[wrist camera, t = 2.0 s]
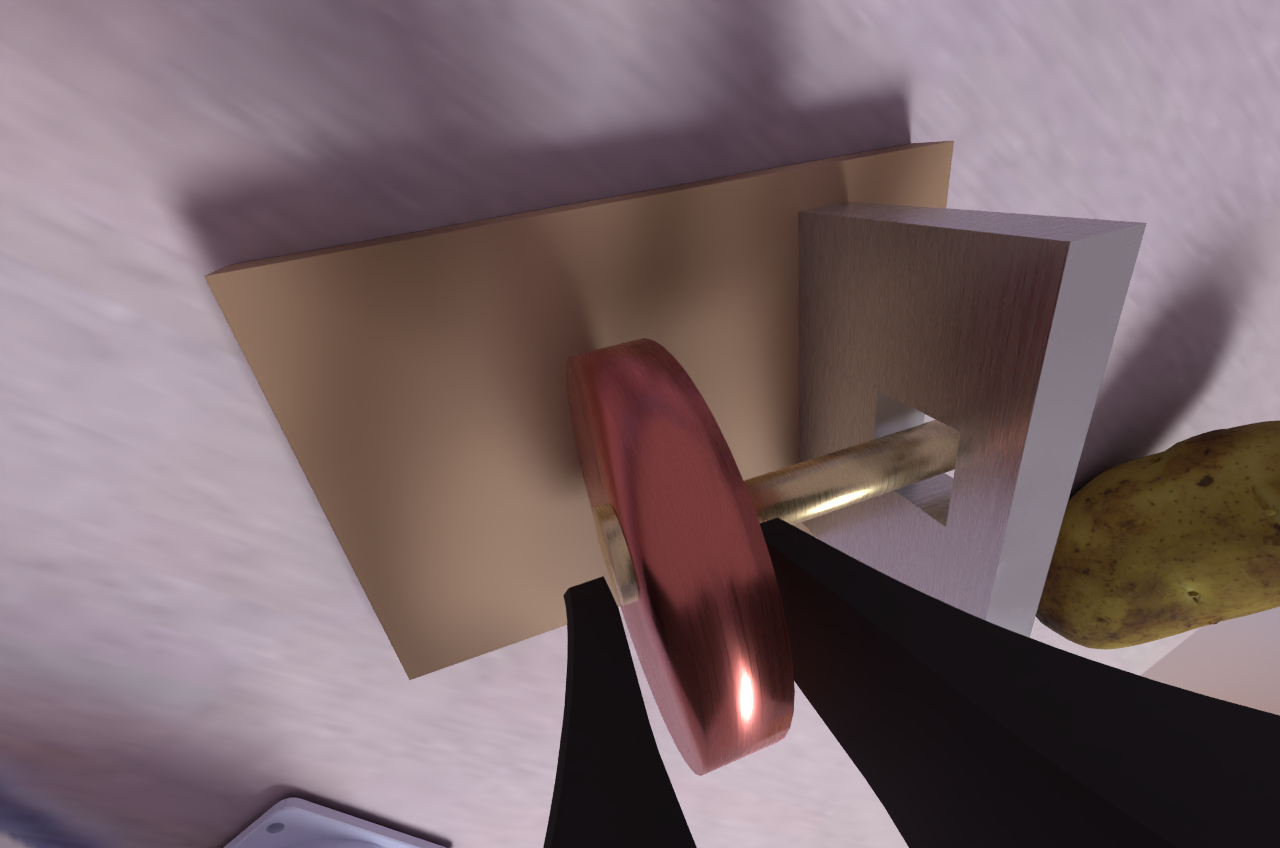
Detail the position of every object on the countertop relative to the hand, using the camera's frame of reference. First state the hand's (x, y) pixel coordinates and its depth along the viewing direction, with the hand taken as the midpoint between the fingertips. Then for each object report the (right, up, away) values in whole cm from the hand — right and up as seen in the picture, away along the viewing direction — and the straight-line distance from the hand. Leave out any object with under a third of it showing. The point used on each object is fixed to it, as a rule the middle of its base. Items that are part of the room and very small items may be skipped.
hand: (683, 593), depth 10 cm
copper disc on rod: (+2, +3, +6) cm, 7 cm away
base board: (-1, +4, +7) cm, 8 cm away
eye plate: (+5, +4, +7) cm, 9 cm away
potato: (+22, 0, +17) cm, 28 cm away
